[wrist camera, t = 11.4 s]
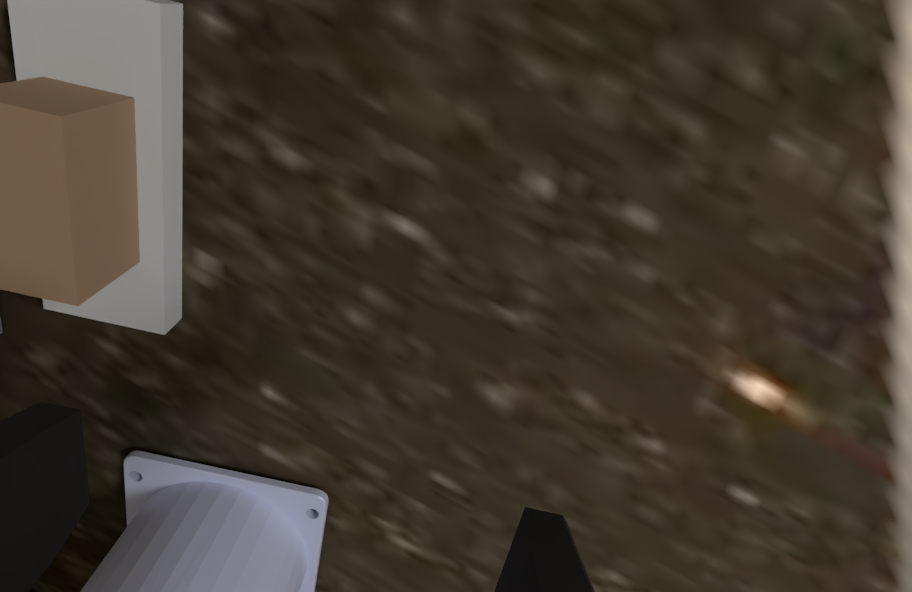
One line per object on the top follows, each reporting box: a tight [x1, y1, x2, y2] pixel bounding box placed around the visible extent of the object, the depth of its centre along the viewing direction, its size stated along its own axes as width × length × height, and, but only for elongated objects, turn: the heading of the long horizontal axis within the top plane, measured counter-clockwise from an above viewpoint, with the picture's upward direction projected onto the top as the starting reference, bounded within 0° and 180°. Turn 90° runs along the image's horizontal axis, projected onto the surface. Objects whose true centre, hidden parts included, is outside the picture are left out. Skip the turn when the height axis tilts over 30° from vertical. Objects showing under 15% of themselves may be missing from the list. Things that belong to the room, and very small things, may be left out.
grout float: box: [0, 0, 183, 335], centre depth 17 cm, size 10×4×4 cm, turn 168°
